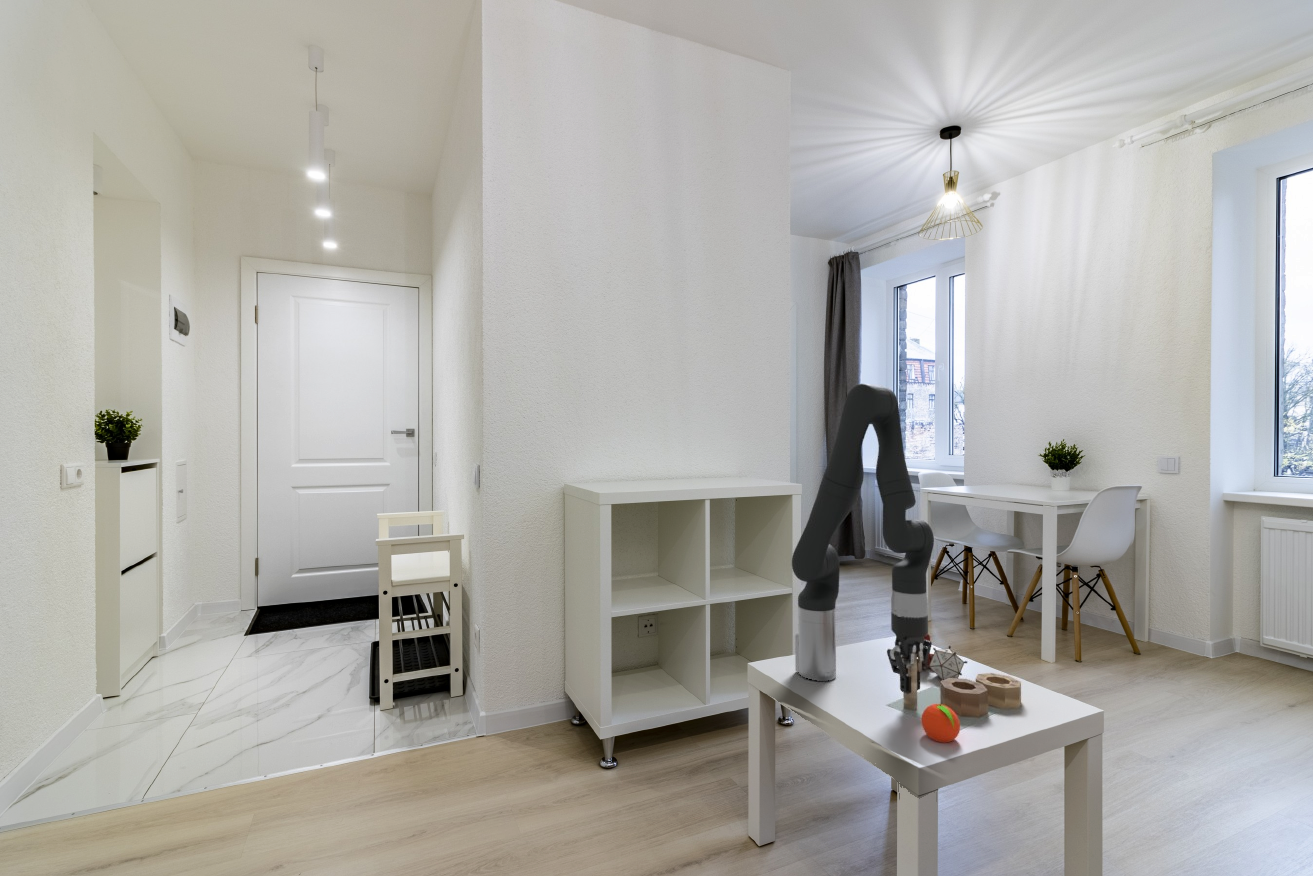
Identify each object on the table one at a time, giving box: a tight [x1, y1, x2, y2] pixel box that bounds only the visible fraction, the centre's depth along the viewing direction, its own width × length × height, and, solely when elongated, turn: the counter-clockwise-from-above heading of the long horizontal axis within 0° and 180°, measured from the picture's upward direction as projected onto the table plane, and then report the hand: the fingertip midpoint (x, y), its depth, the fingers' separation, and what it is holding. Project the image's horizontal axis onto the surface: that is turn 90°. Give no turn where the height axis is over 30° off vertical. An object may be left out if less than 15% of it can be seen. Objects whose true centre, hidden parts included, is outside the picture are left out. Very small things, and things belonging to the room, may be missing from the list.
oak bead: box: [975, 672, 1022, 710], centre depth 139 cm, size 9×9×5 cm
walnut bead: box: [939, 677, 989, 718], centre depth 135 cm, size 9×9×5 cm
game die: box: [926, 645, 968, 681], centre depth 153 cm, size 9×8×10 cm
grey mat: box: [886, 686, 1001, 731], centre depth 135 cm, size 16×18×1 cm
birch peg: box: [902, 653, 918, 710], centre depth 135 cm, size 3×3×12 cm
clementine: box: [920, 704, 961, 743], centre depth 121 cm, size 8×7×7 cm
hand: (910, 690), depth 135 cm, fingers closed on birch peg, 2 cm apart
